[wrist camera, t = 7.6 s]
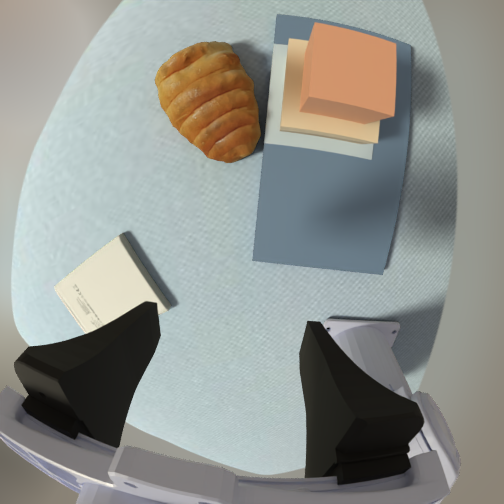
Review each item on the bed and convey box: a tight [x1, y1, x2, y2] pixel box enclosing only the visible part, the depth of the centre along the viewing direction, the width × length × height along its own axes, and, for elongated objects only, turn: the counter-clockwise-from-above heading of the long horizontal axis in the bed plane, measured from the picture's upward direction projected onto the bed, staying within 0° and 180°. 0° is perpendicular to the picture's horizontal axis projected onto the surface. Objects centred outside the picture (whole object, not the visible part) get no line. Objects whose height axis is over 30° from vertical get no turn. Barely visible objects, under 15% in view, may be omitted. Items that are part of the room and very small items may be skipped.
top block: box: [299, 22, 396, 124], centre depth 11 cm, size 4×4×4 cm
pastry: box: [155, 41, 261, 163], centre depth 17 cm, size 9×7×4 cm
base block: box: [280, 38, 380, 144], centre depth 15 cm, size 6×6×4 cm
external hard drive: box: [54, 233, 171, 334], centre depth 25 cm, size 2×8×12 cm
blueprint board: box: [252, 14, 411, 275], centre depth 18 cm, size 20×11×1 cm, turn 175°
